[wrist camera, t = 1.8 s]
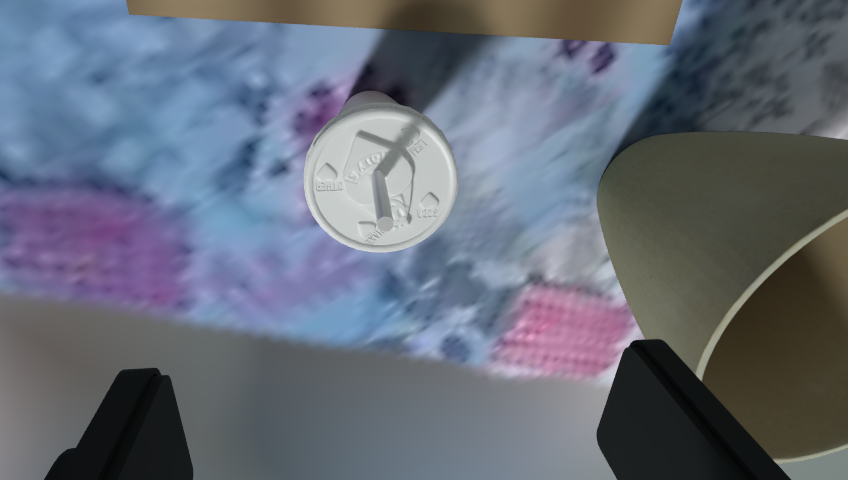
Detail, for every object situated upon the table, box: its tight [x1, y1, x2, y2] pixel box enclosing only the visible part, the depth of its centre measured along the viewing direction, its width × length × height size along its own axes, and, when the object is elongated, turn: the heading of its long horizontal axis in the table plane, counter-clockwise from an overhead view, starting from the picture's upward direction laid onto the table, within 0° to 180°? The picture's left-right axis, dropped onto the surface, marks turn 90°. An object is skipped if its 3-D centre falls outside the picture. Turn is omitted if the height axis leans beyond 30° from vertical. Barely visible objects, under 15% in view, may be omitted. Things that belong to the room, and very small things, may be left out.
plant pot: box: [597, 131, 848, 464], centre depth 26 cm, size 15×15×16 cm
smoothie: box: [304, 91, 458, 253], centre depth 22 cm, size 6×6×14 cm
